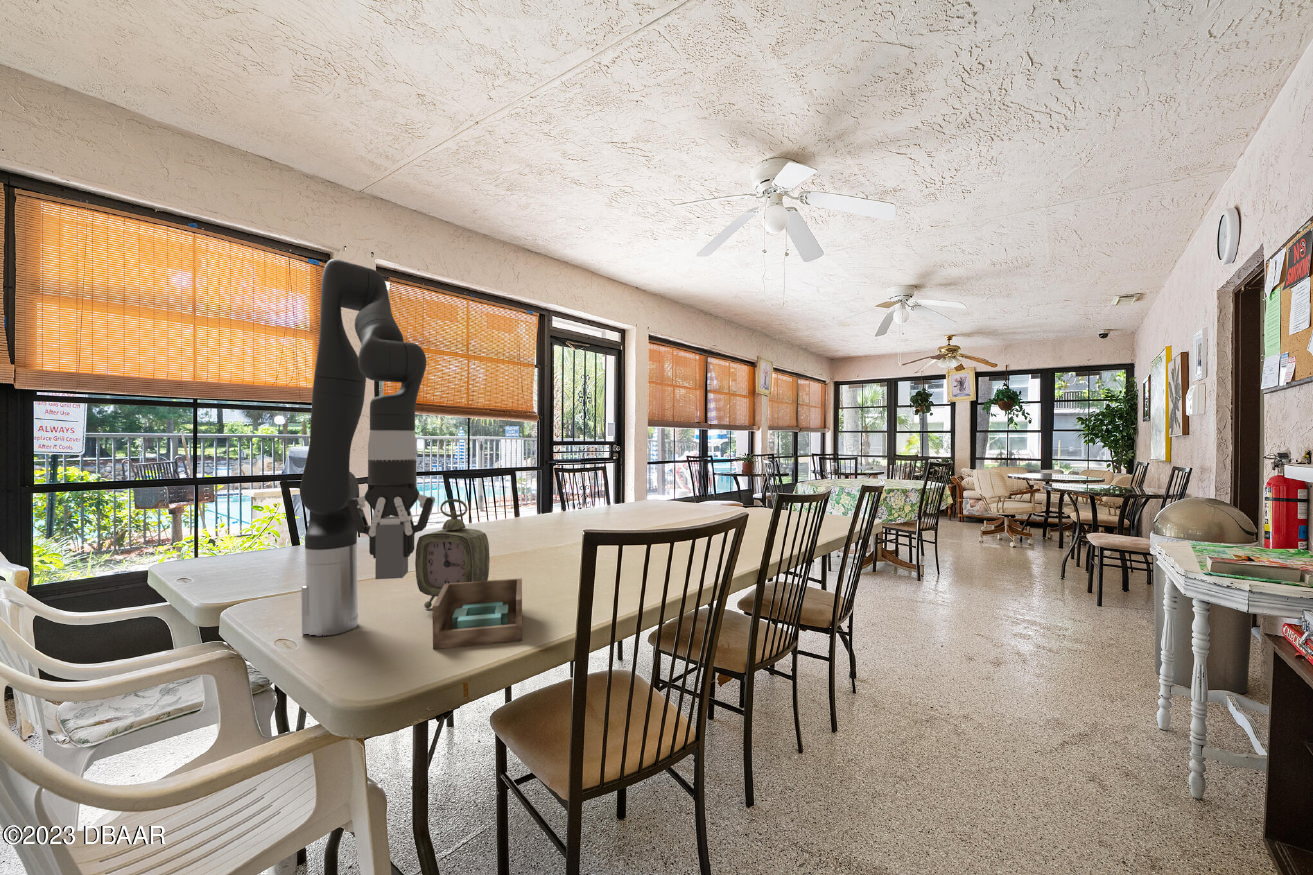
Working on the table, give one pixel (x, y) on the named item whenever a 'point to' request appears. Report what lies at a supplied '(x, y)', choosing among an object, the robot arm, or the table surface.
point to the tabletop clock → (451, 556)
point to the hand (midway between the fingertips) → (392, 556)
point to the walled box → (478, 613)
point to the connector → (390, 549)
